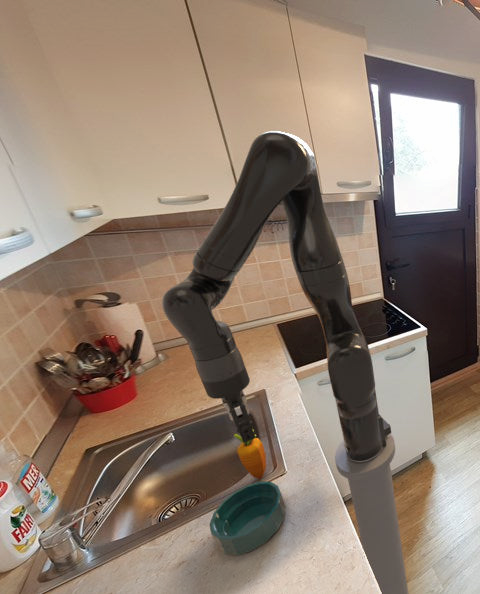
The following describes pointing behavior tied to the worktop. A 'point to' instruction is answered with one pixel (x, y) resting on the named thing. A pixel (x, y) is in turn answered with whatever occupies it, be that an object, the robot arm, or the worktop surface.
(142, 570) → the worktop surface
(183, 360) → the worktop surface
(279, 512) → the bowl
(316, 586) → the worktop surface
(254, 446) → the carrot
